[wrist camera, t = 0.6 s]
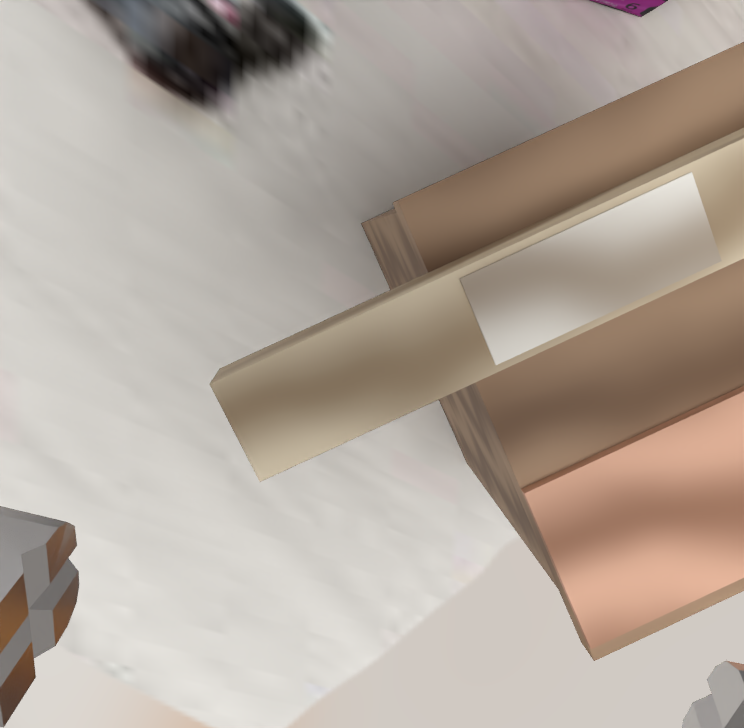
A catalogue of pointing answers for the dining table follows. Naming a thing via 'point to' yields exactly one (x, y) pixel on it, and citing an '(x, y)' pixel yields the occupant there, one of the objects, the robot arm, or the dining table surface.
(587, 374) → the walnut shelf
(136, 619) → the dining table surface
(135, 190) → the dining table surface
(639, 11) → the candy bar box
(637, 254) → the birch block
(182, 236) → the dining table surface
